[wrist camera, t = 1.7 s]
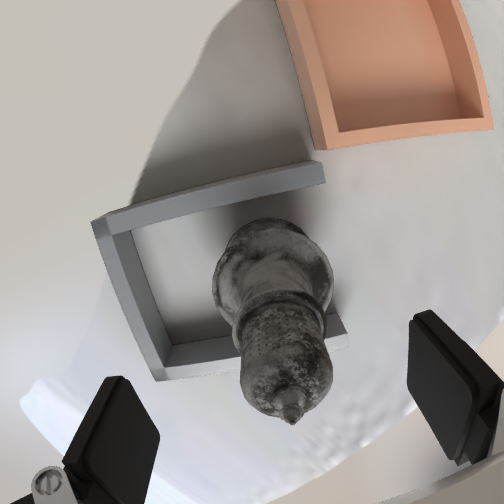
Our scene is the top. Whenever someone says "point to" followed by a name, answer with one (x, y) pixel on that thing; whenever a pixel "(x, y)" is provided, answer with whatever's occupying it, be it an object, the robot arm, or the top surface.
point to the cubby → (137, 288)
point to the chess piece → (277, 316)
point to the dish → (385, 69)
